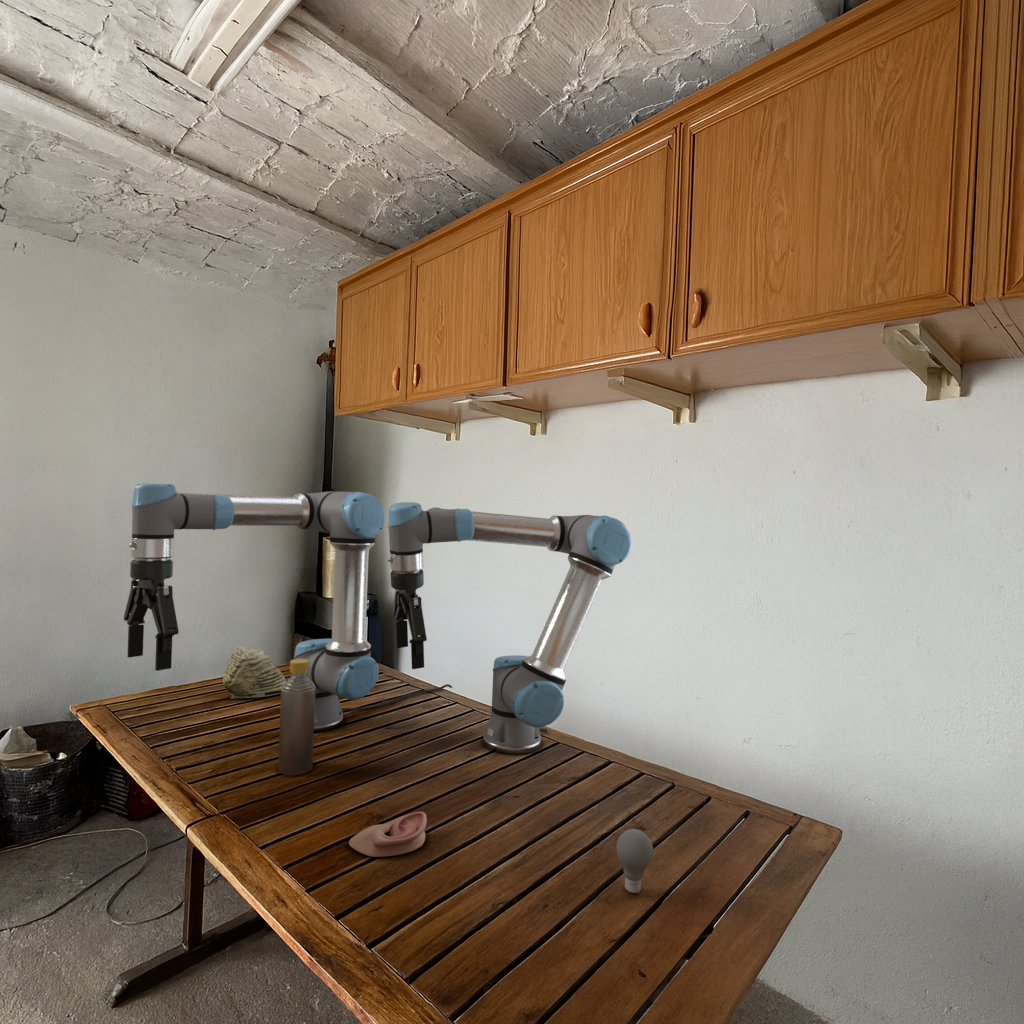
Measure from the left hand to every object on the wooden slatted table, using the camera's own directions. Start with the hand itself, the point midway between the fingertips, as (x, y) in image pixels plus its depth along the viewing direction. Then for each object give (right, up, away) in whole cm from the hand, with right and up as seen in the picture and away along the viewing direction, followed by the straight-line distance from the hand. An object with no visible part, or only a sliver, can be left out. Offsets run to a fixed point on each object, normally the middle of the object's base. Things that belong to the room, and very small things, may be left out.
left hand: (148, 662), depth 129 cm
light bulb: (+94, -33, -24) cm, 103 cm away
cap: (+25, -4, +17) cm, 31 cm away
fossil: (-6, -27, +69) cm, 74 cm away
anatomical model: (+51, -31, -12) cm, 61 cm away
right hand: (+50, -4, +20) cm, 54 cm away
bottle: (+24, -29, +18) cm, 41 cm away
